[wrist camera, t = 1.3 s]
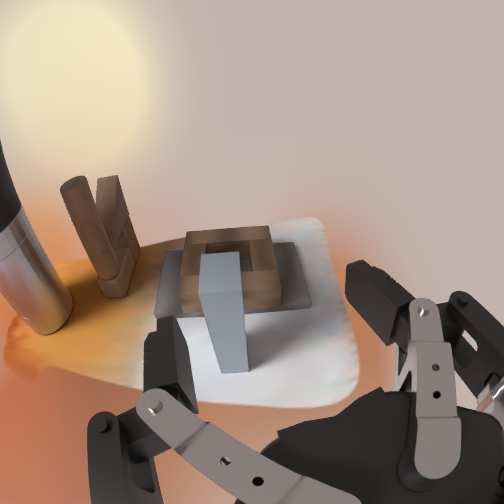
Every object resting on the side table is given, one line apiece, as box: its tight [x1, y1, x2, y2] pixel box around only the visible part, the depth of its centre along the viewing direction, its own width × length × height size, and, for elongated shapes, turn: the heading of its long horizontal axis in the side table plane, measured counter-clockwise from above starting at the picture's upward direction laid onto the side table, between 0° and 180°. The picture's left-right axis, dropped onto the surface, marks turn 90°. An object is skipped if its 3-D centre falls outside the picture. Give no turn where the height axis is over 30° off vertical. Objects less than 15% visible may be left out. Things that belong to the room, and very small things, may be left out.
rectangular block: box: [198, 252, 249, 373], centre depth 25 cm, size 3×4×14 cm
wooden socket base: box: [154, 226, 311, 318], centre depth 37 cm, size 20×12×4 cm, turn 95°
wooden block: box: [60, 175, 140, 298], centre depth 34 cm, size 4×11×18 cm, turn 4°
